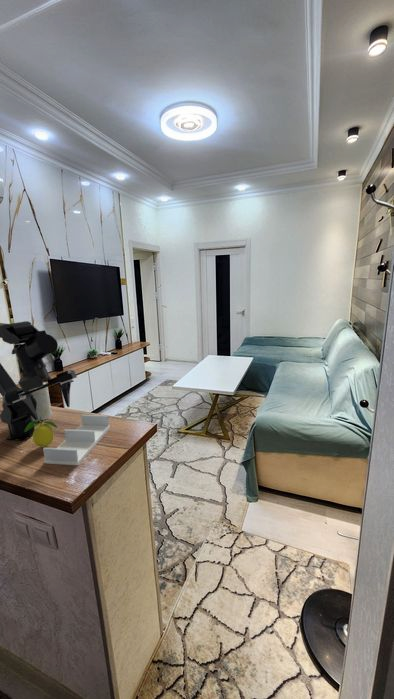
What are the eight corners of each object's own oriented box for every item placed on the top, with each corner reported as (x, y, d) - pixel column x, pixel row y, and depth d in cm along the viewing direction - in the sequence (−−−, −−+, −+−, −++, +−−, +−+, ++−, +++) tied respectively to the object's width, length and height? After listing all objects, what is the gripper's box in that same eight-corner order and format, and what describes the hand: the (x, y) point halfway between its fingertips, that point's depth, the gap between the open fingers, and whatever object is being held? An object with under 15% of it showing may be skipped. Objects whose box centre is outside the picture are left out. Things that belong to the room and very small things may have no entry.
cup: (41, 422, 104) (36, 391, 101) (22, 421, 105) (16, 389, 102) (56, 412, 111) (52, 383, 109) (38, 411, 113) (33, 382, 110)
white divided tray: (44, 463, 80) (42, 448, 79) (82, 426, 100) (81, 414, 99) (78, 465, 79) (76, 450, 78) (110, 427, 99) (109, 415, 98)
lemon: (27, 452, 85) (22, 421, 83) (39, 442, 91) (34, 412, 89) (49, 453, 85) (44, 422, 83) (60, 442, 91) (55, 412, 88)
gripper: (-17, 378, 75) (7, 433, 75) (56, 351, 78) (78, 405, 79) (3, 375, 86) (24, 424, 86) (67, 351, 89) (86, 399, 90)
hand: (53, 413), depth 85 cm, fingers open, 9 cm apart
